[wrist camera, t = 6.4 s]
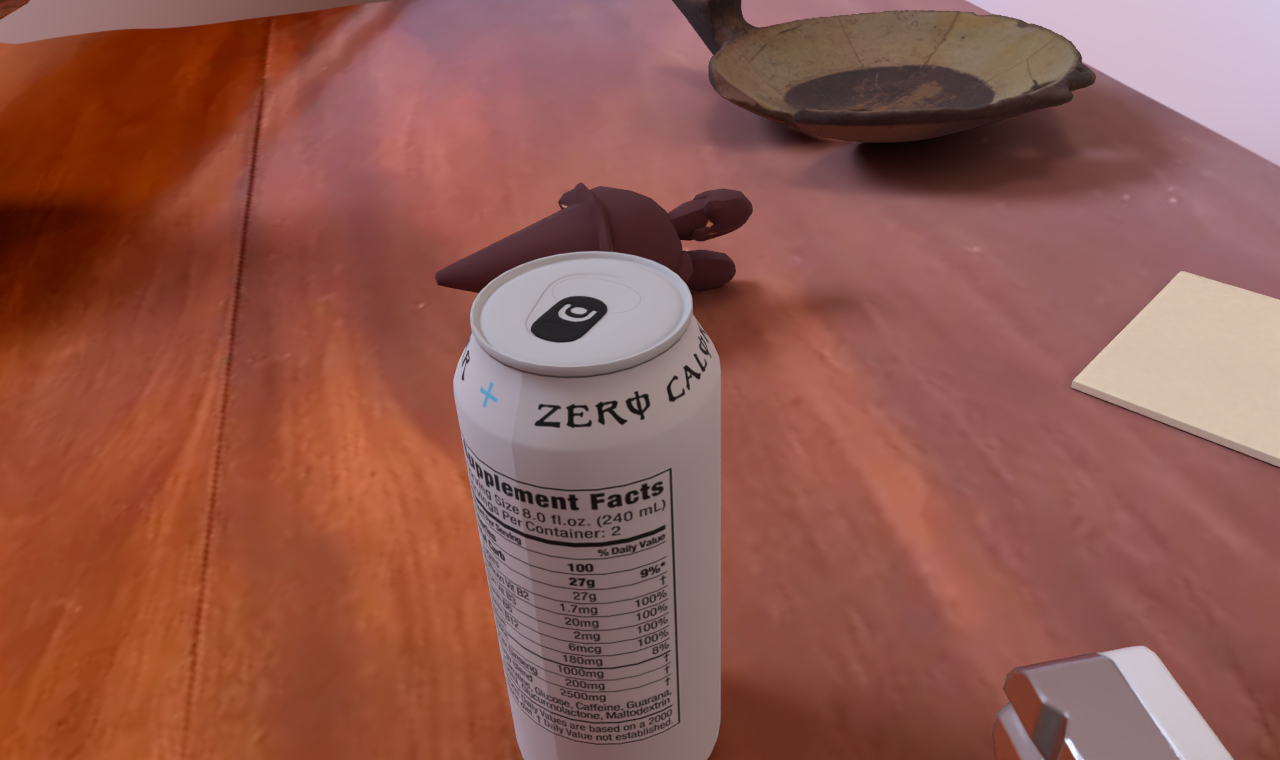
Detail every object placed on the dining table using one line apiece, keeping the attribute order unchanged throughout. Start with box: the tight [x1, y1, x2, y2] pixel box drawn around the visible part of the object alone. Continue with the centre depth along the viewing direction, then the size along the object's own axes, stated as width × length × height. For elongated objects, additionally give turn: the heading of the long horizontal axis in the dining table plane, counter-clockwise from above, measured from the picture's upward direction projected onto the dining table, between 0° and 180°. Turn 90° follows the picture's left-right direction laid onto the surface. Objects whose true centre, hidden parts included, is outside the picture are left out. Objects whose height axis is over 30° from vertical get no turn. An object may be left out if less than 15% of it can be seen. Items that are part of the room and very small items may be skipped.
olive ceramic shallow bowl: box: [672, 0, 1096, 143], centre depth 69 cm, size 22×30×8 cm
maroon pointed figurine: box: [435, 182, 753, 293], centre depth 49 cm, size 7×7×15 cm
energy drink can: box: [453, 251, 721, 760], centre depth 27 cm, size 6×6×15 cm
